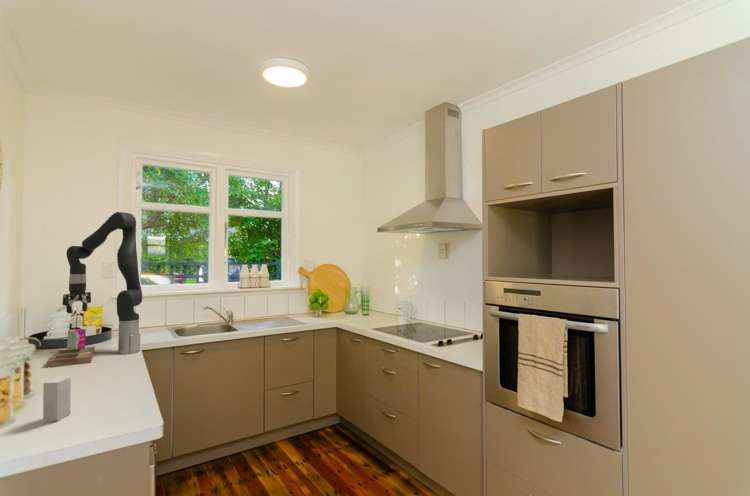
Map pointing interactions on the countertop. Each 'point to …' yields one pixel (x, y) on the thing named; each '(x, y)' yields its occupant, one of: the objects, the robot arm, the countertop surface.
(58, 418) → the skincare box
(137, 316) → the robot arm
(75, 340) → the supplement box
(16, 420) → the countertop surface
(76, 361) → the socket block
